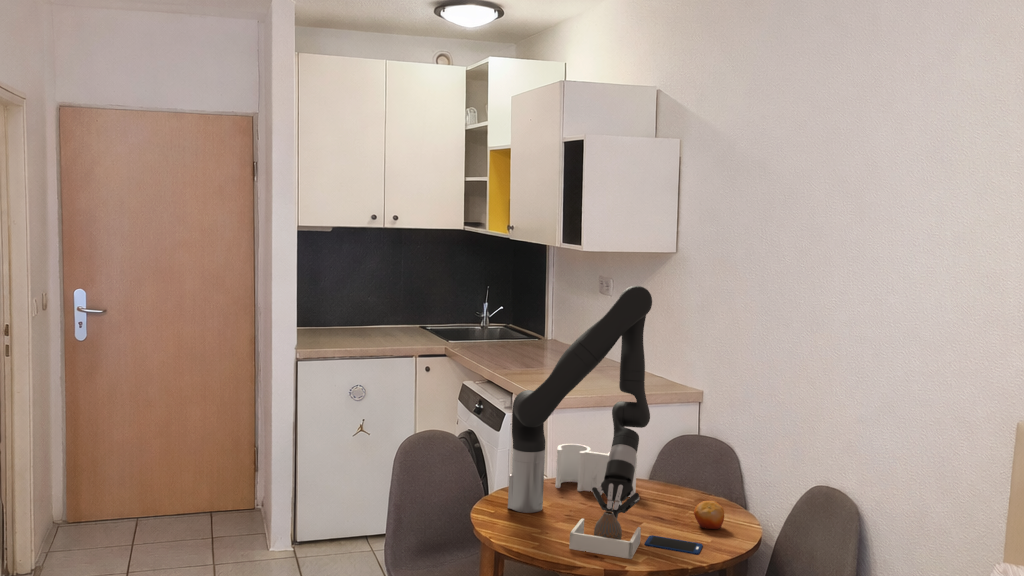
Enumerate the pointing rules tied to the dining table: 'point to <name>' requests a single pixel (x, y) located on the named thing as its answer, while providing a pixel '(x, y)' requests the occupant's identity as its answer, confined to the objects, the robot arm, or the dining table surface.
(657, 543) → the cell phone
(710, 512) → the fruit
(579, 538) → the frame
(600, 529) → the vase
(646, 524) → the dining table surface
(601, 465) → the bracket
